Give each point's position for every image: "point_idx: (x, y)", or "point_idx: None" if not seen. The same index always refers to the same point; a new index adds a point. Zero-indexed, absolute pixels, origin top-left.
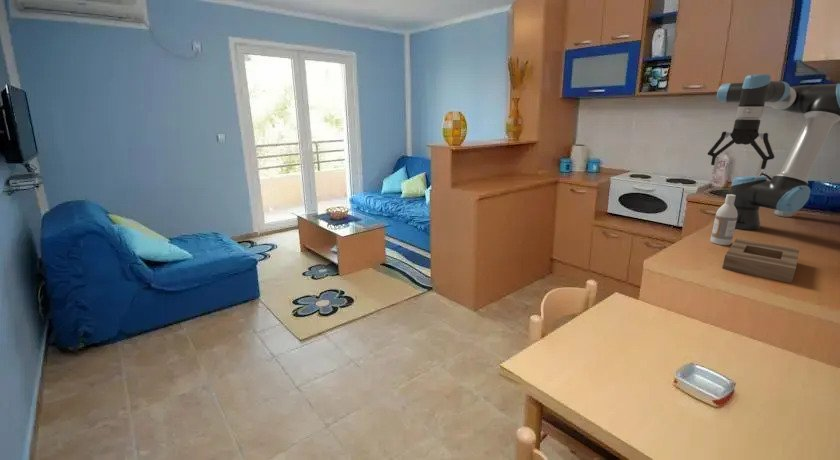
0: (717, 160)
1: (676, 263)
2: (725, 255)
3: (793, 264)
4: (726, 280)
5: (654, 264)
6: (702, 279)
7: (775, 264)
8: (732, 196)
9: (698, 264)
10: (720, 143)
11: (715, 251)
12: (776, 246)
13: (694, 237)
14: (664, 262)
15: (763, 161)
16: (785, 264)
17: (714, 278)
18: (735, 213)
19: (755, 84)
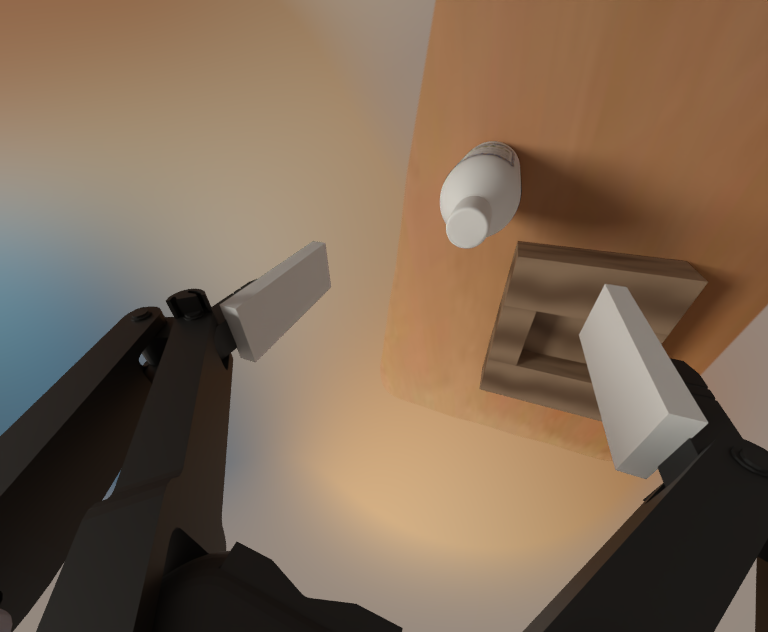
0: (271, 342)
1: (413, 371)
2: (480, 388)
3: None
4: (485, 410)
5: (388, 384)
6: (454, 414)
7: (567, 411)
8: (473, 246)
9: (444, 363)
10: (68, 445)
11: (472, 272)
12: (629, 285)
13: (414, 159)
14: (397, 373)
15: (665, 458)
16: (590, 407)
17: (469, 407)
18: (506, 224)
19: None
